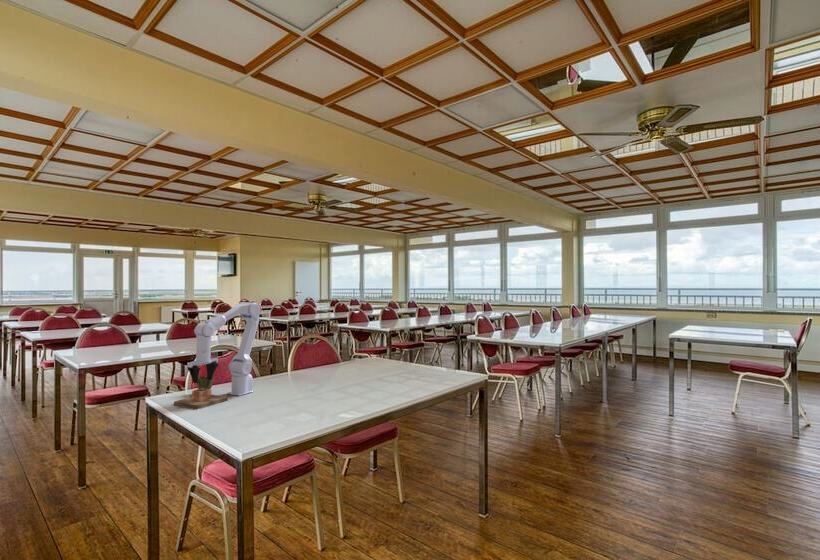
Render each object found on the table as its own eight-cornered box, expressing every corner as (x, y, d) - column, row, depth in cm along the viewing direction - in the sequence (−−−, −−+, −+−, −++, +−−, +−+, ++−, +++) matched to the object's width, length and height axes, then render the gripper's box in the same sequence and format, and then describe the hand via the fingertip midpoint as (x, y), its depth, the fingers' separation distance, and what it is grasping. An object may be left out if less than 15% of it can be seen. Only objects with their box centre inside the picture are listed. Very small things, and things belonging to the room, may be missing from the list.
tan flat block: (205, 396, 197) (205, 383, 197) (227, 400, 192) (228, 387, 192) (173, 404, 182) (174, 390, 183) (197, 409, 177) (197, 394, 177)
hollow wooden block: (202, 397, 190) (202, 388, 191) (211, 398, 188) (211, 389, 188) (191, 399, 186) (192, 390, 186) (200, 401, 183) (201, 392, 183)
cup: (194, 395, 198) (194, 378, 198) (197, 392, 205) (198, 375, 205) (211, 395, 200) (212, 378, 200) (214, 391, 207) (214, 374, 207)
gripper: (196, 353, 179) (195, 385, 179) (223, 349, 193) (222, 379, 192) (184, 351, 182) (183, 383, 182) (212, 347, 195) (211, 377, 195)
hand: (202, 381), depth 187 cm, fingers open, 7 cm apart
